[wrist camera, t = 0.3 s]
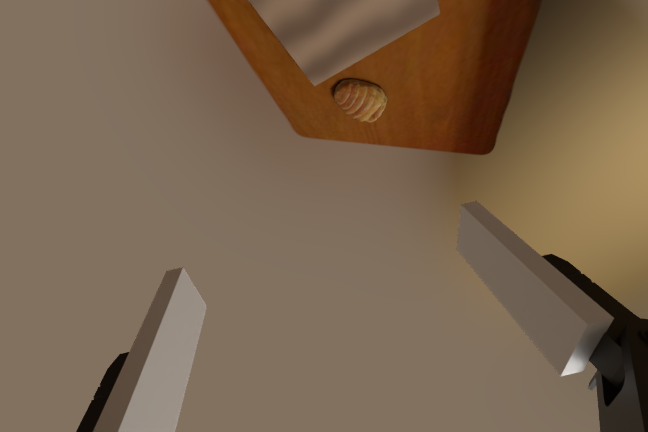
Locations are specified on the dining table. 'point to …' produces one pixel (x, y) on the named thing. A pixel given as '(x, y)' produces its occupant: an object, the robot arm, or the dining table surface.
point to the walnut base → (340, 29)
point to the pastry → (360, 99)
